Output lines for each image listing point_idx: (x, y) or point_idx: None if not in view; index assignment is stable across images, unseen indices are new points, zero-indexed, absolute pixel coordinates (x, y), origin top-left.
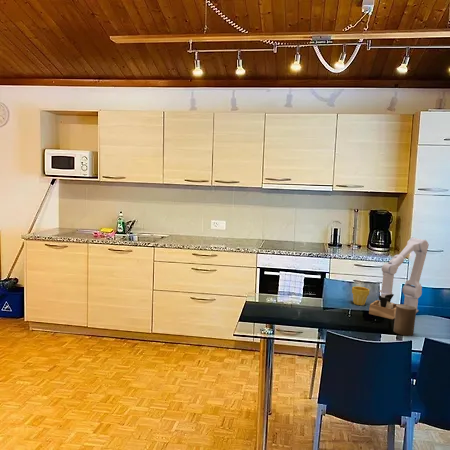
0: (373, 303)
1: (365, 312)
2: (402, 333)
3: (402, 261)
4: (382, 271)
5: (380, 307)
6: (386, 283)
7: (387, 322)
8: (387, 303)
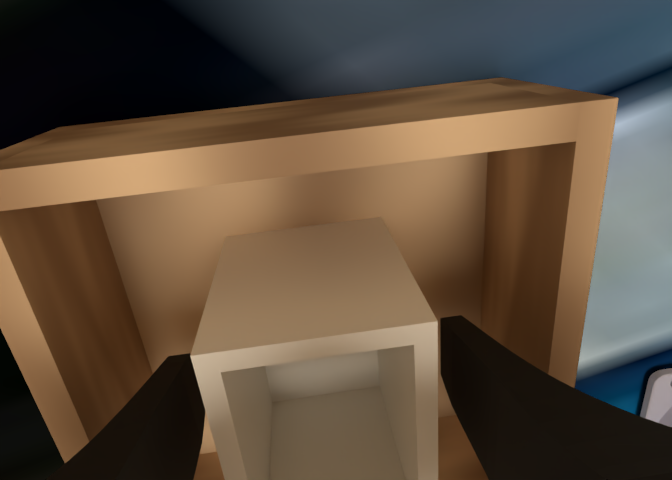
0: (173, 188)
1: (76, 39)
2: None
3: None
4: None
5: (52, 408)
6: None
7: None
8: (408, 423)
